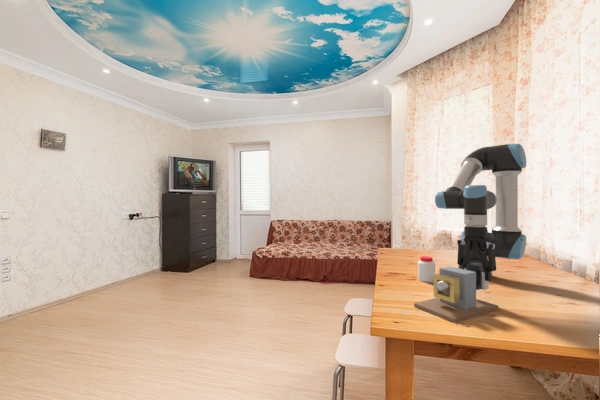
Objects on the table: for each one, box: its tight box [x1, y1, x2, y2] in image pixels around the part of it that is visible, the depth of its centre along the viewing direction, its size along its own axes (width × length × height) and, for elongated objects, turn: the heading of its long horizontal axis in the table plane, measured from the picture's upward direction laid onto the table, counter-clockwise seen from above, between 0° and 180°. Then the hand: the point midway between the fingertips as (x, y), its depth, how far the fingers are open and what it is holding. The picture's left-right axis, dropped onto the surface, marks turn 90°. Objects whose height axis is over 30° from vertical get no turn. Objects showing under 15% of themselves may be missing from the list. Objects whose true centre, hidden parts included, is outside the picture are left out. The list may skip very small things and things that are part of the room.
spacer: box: [433, 272, 460, 303], centre depth 104 cm, size 3×8×8 cm, turn 27°
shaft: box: [435, 262, 484, 291], centre depth 107 cm, size 24×4×9 cm, turn 117°
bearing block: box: [413, 266, 499, 324], centre depth 106 cm, size 24×16×14 cm, turn 117°
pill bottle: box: [417, 255, 436, 283], centre depth 142 cm, size 8×8×11 cm
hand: (476, 286), depth 111 cm, fingers open, 6 cm apart
